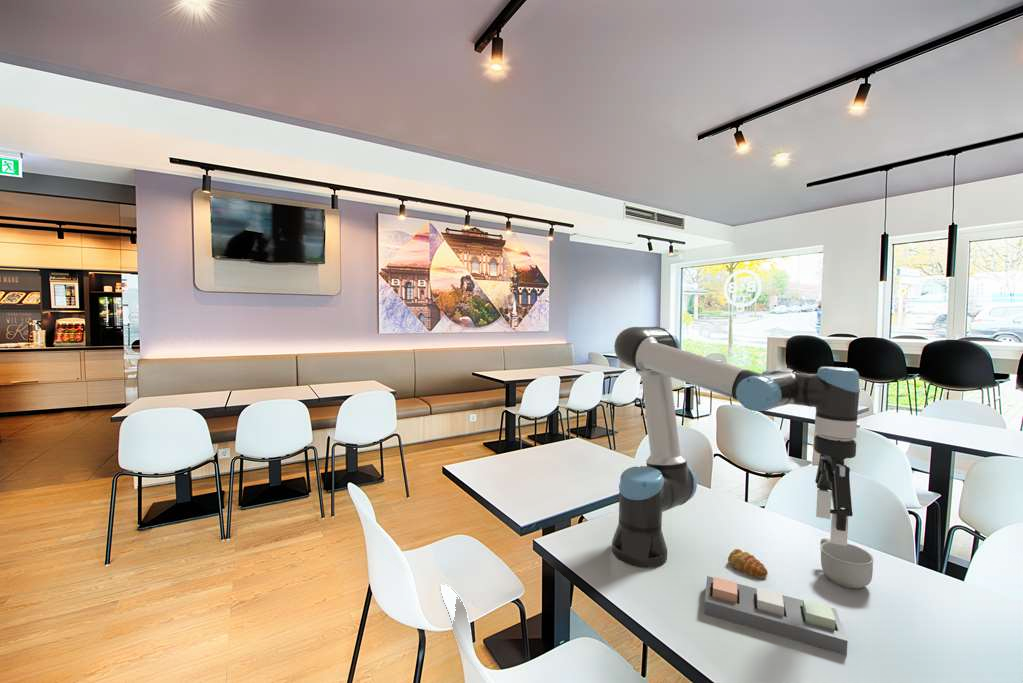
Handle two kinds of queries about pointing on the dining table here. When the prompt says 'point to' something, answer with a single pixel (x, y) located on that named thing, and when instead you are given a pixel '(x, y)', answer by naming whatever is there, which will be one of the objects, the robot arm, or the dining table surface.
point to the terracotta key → (725, 590)
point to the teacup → (846, 564)
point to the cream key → (770, 601)
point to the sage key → (818, 614)
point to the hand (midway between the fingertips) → (830, 529)
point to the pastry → (747, 564)
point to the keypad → (775, 618)
